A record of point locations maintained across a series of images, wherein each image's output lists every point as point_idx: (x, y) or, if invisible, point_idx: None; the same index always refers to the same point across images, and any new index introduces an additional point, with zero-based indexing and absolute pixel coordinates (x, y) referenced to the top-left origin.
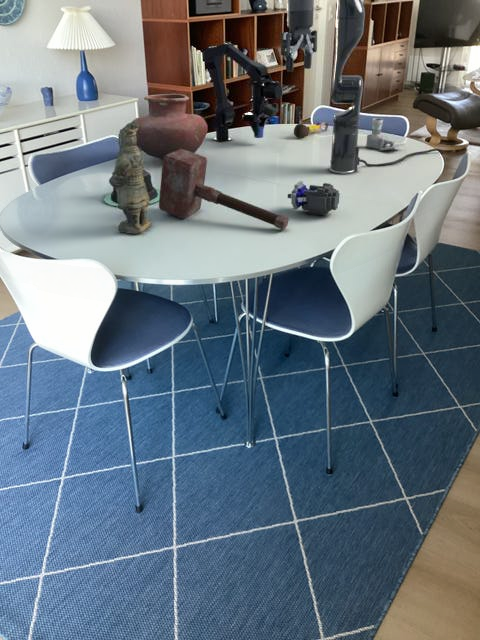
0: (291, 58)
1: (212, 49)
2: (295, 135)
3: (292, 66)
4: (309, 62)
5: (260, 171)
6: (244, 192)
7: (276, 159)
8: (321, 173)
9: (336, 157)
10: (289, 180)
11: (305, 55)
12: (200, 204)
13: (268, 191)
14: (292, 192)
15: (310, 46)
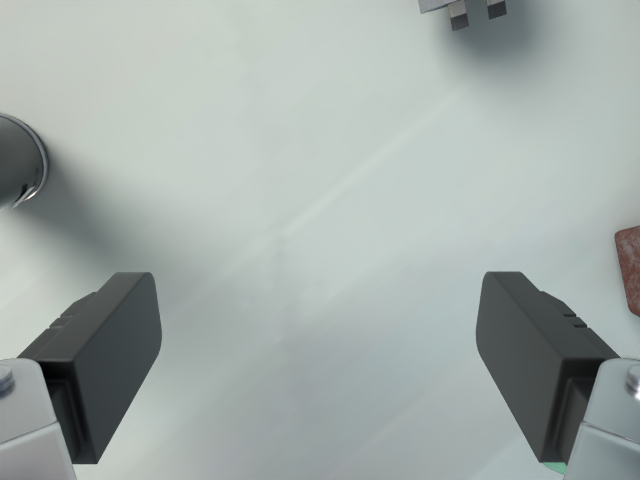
0: (597, 369)
1: None
2: None
3: (533, 291)
4: (120, 307)
5: (214, 347)
6: (405, 250)
7: None
8: (84, 195)
9: (12, 170)
10: (221, 226)
11: (92, 441)
12: (630, 231)
13: (353, 203)
14: (467, 22)
15: (9, 458)
